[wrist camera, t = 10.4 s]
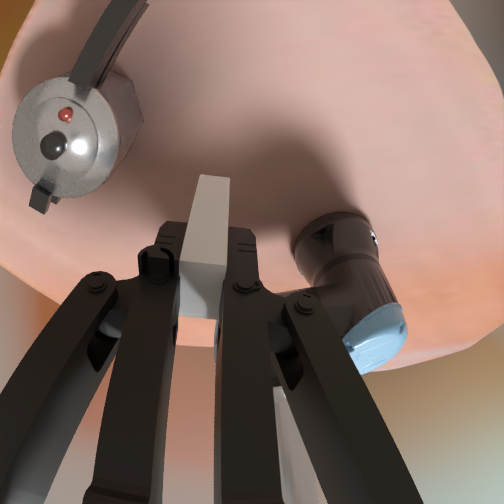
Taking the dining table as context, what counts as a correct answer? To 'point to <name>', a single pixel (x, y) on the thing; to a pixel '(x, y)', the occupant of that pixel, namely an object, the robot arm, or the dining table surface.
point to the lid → (73, 119)
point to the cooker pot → (120, 100)
